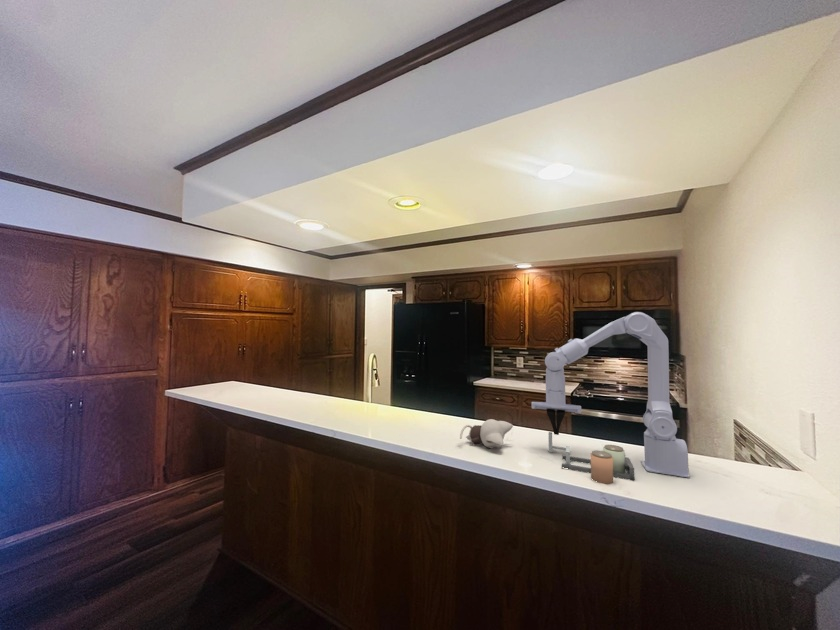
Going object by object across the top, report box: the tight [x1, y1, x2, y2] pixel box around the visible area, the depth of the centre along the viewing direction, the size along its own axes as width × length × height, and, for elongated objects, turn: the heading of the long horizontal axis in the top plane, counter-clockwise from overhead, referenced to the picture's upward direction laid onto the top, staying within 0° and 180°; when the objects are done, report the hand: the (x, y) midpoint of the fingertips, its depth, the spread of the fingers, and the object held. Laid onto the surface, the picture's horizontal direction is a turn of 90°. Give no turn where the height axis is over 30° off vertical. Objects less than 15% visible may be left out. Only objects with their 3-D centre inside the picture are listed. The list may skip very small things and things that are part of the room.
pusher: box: [548, 431, 571, 465], centre depth 97 cm, size 6×12×6 cm, turn 155°
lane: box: [561, 454, 636, 481], centre depth 90 cm, size 17×8×3 cm, turn 65°
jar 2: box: [602, 444, 626, 474], centre depth 89 cm, size 5×5×6 cm
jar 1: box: [590, 450, 614, 485], centre depth 83 cm, size 5×5×6 cm
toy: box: [459, 418, 514, 450], centre depth 108 cm, size 13×9×15 cm
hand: (556, 433), depth 103 cm, fingers closed
